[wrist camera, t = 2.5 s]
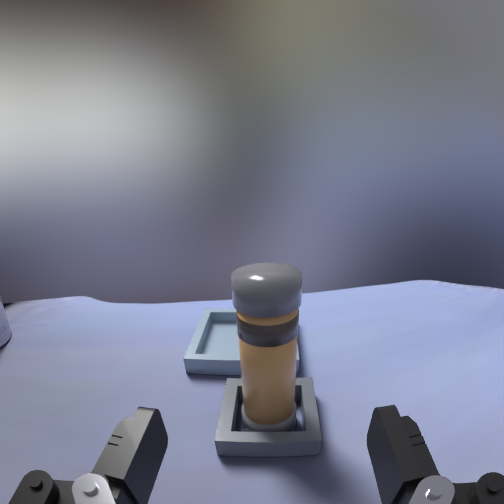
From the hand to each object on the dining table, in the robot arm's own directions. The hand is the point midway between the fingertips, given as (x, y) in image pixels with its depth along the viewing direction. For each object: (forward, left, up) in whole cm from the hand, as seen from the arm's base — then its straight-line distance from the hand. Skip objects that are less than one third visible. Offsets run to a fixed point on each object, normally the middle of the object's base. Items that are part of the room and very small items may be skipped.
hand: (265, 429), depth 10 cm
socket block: (0, +12, -12) cm, 17 cm away
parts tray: (-3, +25, -12) cm, 27 cm away
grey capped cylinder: (0, +12, -12) cm, 17 cm away
